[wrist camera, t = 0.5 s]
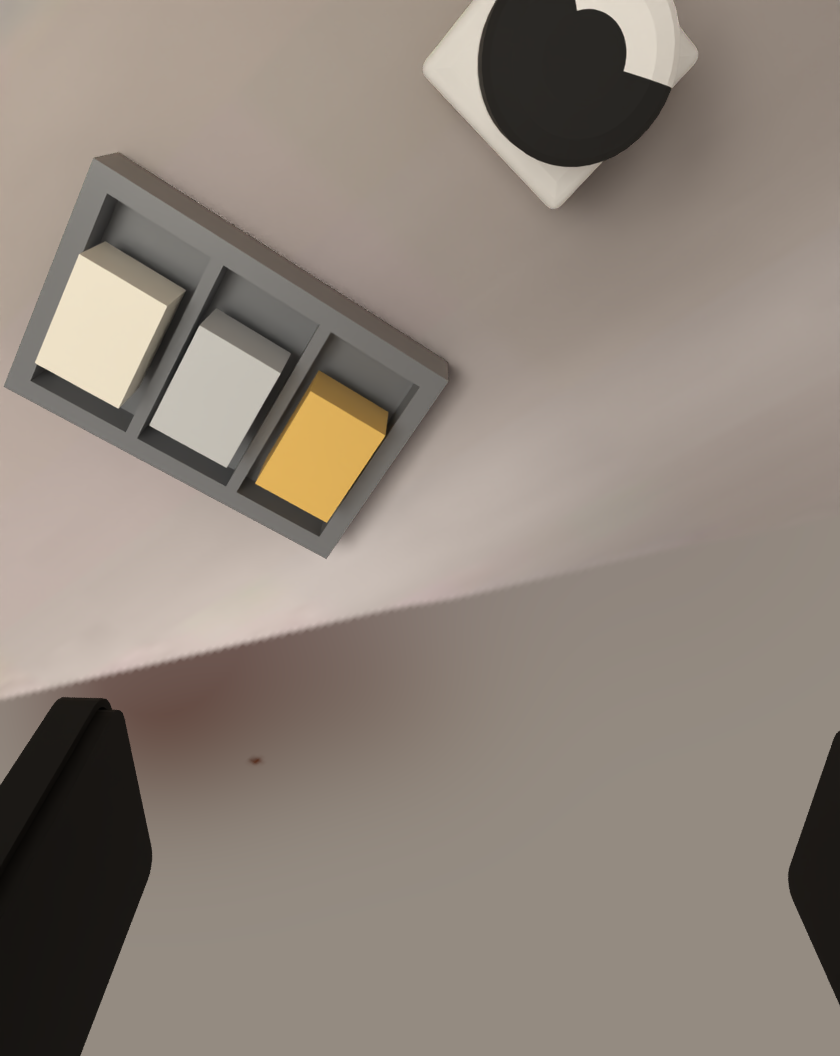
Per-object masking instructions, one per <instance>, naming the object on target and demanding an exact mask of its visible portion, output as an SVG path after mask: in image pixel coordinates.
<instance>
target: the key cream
mask: <svg viewBox="0 0 840 1056" xmlns="http://www.w3.org/2000/svg"><path fill="white" fill-rule="evenodd" d="M185 292H186V290H185V289H183V288H182V287H180V286H178V285H177V284H175V283H173V282H172V281H170V280H169V279H167V278H165V277H164V276H162V275H160V274H159V273H157V272H155V271H154V270H152V269H150V268H149V267H147V266H145V265H144V264H142V263H140V262H139V261H137V260H135V259H134V258H132V257H130V256H129V255H127V254H125V253H124V252H122V251H120V250H119V249H117V248H115V247H114V246H112V245H110V244H109V243H107V242H103V243H101V244H99V245H97V246H94V247H92V248H90V249H88V250H86V251H84V252H82V253H80V254H79V256H78V258H77V260H76V263H75V265H74V268H73V270H72V273H71V275H70V278H69V280H68V283H67V285H66V288H65V290H64V292H63V295H62V297H61V300H60V302H59V305H58V307H57V310H56V312H55V315H54V317H53V319H52V322H51V324H50V327H49V329H48V332H47V334H46V337H45V339H44V342H43V344H42V347H41V349H40V351H39V354H38V356H37V359H36V361H35V363H36V364H38V365H39V366H41V367H43V368H45V369H47V370H49V371H50V372H52V373H54V374H56V375H58V376H60V377H61V378H63V379H65V380H67V381H69V382H71V383H72V384H74V385H76V386H78V387H80V388H81V389H83V390H85V391H87V392H89V393H91V394H92V395H94V396H96V397H98V398H100V399H102V400H103V401H105V402H107V403H109V404H111V405H113V406H114V407H116V408H118V409H119V408H120V407H121V406H122V405H123V403H124V402H125V401H126V400H127V399H128V398H129V397H130V396H131V395H132V394H133V393H134V392H135V391H136V390H137V389H138V388H139V387H140V385H141V383H142V381H143V379H144V377H145V375H146V372H147V370H148V368H149V366H150V364H151V362H152V360H153V358H154V356H155V354H156V352H157V350H158V348H159V346H160V344H161V341H162V339H163V337H164V335H165V333H166V331H167V329H168V327H169V325H170V323H171V321H172V319H173V317H174V315H175V312H176V310H177V308H178V306H179V304H180V302H181V300H182V298H183V296H184V294H185Z"/></svg>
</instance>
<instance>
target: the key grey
mask: <svg viewBox="0 0 840 1056" xmlns="http://www.w3.org/2000/svg"><path fill="white" fill-rule="evenodd" d="M290 355H291V353H290V352H288V351H286V350H285V349H283V348H281V347H280V346H278V345H276V344H275V343H273V342H271V341H270V340H268V339H266V338H265V337H263V336H261V335H260V334H258V333H256V332H255V331H253V330H251V329H250V328H248V327H246V326H245V325H243V324H242V323H240V322H238V321H237V320H235V319H233V318H232V317H230V316H228V315H227V314H225V313H223V312H222V311H220V310H218V309H217V308H216V309H215V310H214V311H213V312H212V313H211V314H210V315H209V316H208V317H207V318H206V319H205V320H204V321H203V322H202V323H201V324H200V326H199V328H198V329H197V331H196V333H195V335H194V337H193V339H192V341H191V343H190V345H189V347H188V349H187V351H186V353H185V355H184V357H183V359H182V361H181V363H180V365H179V367H178V369H177V371H176V373H175V375H174V377H173V379H172V381H171V383H170V385H169V387H168V389H167V391H166V393H165V395H164V397H163V399H162V401H161V403H160V405H159V407H158V409H157V411H156V413H155V415H154V417H153V419H152V421H151V423H150V425H149V426H151V427H153V428H155V429H156V430H158V431H160V432H162V433H164V434H166V435H167V436H169V437H171V438H173V439H175V440H176V441H178V442H180V443H182V444H184V445H186V446H187V447H189V448H191V449H193V450H195V451H197V452H198V453H200V454H202V455H204V456H206V457H208V458H209V459H211V460H213V461H215V462H217V463H218V464H220V465H222V466H224V467H226V468H227V466H228V465H229V463H230V461H231V459H232V458H233V456H234V454H235V452H236V451H237V449H238V447H239V445H240V444H241V442H242V440H243V438H244V437H245V435H246V433H247V431H248V430H249V428H250V426H251V424H252V423H253V421H254V419H255V417H256V416H257V414H258V412H259V410H260V409H261V407H262V405H263V403H264V402H265V400H266V398H267V396H268V395H269V393H270V391H271V389H272V388H273V386H274V384H275V382H276V381H277V379H278V377H279V375H280V374H281V372H282V370H283V368H284V366H285V364H286V362H287V360H288V359H289V357H290Z"/></svg>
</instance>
